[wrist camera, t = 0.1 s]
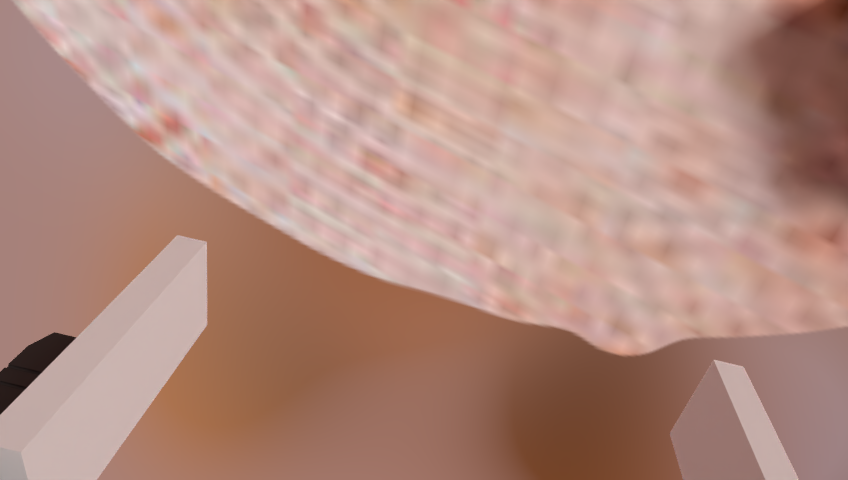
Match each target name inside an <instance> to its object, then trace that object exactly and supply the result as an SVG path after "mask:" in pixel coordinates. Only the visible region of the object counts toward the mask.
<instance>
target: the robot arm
mask: <svg viewBox="0 0 848 480" xmlns="http://www.w3.org/2000/svg"><path fill="white" fill-rule="evenodd" d="M206 326H207V242H205V241H200V240H196V239H192V238H187V237H183V236H179V235H177V236H176V237H175V238H174V239H173V240H172V241H171V242H170V244H168V246H166V247H165V248H164V249H163V250H162V252H161V253H160V254H159V255H158V256H157V257H156V258H155V259H154V260H153V261H152V262H151V263H150V264H149V265H148V266H147V267H146V268H145V269H144V270H143V271H142V272H141V273H140V274H139V275H138V276H137V277H136V278H135V279H134V280H133V281H132V282H131V283H130V284H129V285H128V286H127V287H126V288H125V289H124V290H123V291H122V292H121V293H120V294H119V295H118V296H117V297H116V298H115V299H114V300H113V301H112V302H111V303H110V304H109V305H108V306H107V307H106V308H105V309H104V310H103V311H102V312H101V313H100V314H99V315H98V316H97V317H96V318H95V319H94V320H93V321H92V322H91V323H90V324H89V326H88V327H87V328H86V329H85V330H84V331H83V332H82V333H81V334H80V335H79V336H78V337H77V338H76V337H72V336H67V335H63V334H59V333H52V334H50V335H49V336H46V337H44V338H43V339H41V340H39V341H37V342H35V343H33V344H31V345H29V346H28V347H26V348H25V349H24V350H23V351H22V352H21V353H20V354H19V355H18V356H17V357H16V358H15V359H13V360H12V361H11V362H10V363H9V365H8V367H7V368H4V369H3V370H2V371H1V372H0V480H97V479H98V477H99V476H100V474H101V473H102V472H103V470H104V468H105V467H106V466H107V465H108V463H109V462H110V460H111V459H112V458H113V456H114V455H115V453H116V452H117V450H118V449H119V448H120V446H121V445H122V443H123V442H124V441H125V439H126V438H127V436H128V435H129V434H130V432H131V431H132V429H133V428H134V427H135V425H136V424H137V422H138V421H139V420H140V418H141V417H142V415H143V414H144V412H145V411H146V410H147V408H148V407H149V406H150V404H151V403H152V401H153V400H154V399H155V397H156V395H157V394H158V393H159V392H160V390H161V389H162V387H163V386H164V385H165V383H166V382H167V380H168V379H169V377H170V376H171V375H172V373H173V372H174V370H175V369H176V368H177V366H178V365H179V363H180V362H181V361H182V359H183V358H184V356H185V355H186V353H187V352H188V351H189V349H190V348H191V347H192V345H193V344H194V342H195V341H196V339H197V338H198V337H199V335H200V334H201V333H202V331H203V330H204V328H205V327H206ZM670 436H671V439H672V443H673V446H674V449H675V453H676V456H677V460H678V463H679V467H680V470H681V473H682V477H683V480H799V479H798V477H797V475H796V473H795V471H794V469H793V467H792V465H791V463H790V461H789V459H788V457H787V455H786V452H785V450H784V448H783V446H782V444H781V442H780V440H779V438H778V436H777V434H776V432H775V430H774V428H773V426H772V424H771V422H770V420H769V418H768V416H767V414H766V412H765V410H764V408H763V406H762V404H761V401H760V399H759V397H758V395H757V393H756V391H755V390H754V387H753V385H752V383H751V381H750V379H749V377H748V375H747V373H746V371H745V369H744V367H742V366H738V365H734V364H730V363H725V362H721V361H716V360H713V362H712V364H711V365H710V367H709V369H708V370H707V372H706V373H705V375H704V377H703V378H702V380H701V382H700V383H699V385H698V387H697V389H696V390H695V392H694V394H693V395H692V397H691V399H690V400H689V402H688V404H687V405H686V407H685V409H684V410H683V412H682V414H681V415H680V417H679V419H678V420H677V422H676V424H675V425H674V427H673V429H672V431H671V432H670Z"/></svg>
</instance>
